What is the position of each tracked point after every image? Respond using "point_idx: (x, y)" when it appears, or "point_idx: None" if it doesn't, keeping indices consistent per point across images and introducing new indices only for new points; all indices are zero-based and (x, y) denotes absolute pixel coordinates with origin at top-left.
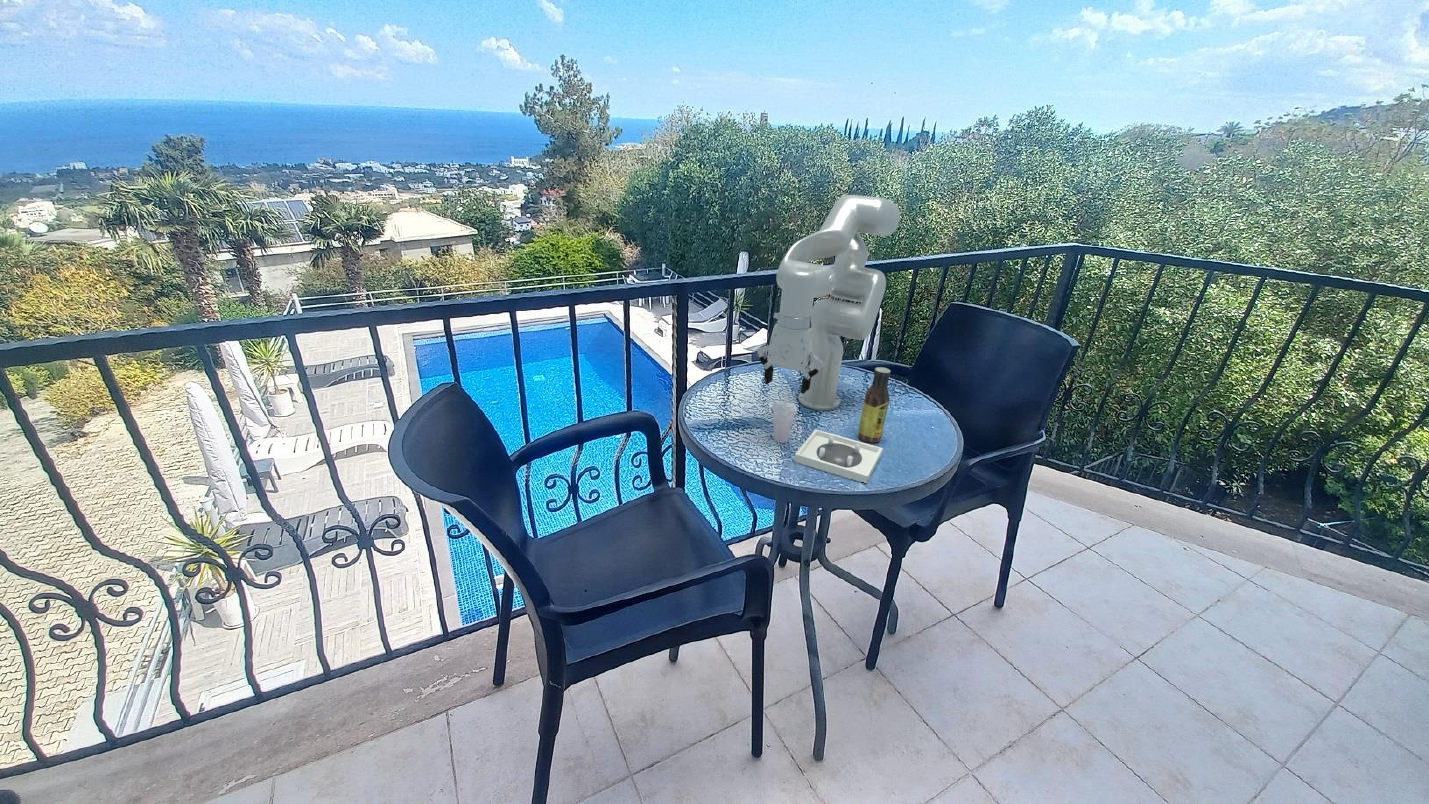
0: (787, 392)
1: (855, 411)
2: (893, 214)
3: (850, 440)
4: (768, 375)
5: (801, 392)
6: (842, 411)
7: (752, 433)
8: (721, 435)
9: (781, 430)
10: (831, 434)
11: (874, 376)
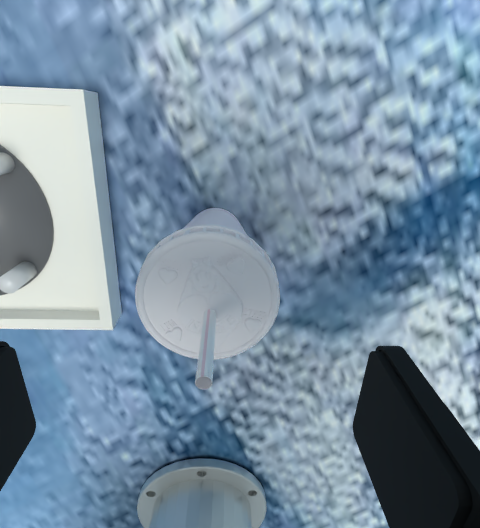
0: (197, 371)
1: (87, 498)
2: None
3: None
4: (422, 427)
5: (2, 347)
6: (118, 483)
7: (328, 218)
8: (441, 136)
9: (202, 216)
10: (44, 324)
11: None
